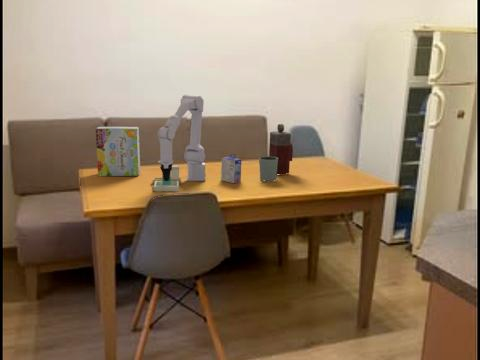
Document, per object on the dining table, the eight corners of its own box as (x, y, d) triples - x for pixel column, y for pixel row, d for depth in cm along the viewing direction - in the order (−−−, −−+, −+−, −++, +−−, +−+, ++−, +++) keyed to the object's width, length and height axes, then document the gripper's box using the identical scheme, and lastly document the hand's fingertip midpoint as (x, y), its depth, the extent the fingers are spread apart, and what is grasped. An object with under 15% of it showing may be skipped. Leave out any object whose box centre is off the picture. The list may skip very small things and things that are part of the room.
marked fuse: (170, 186, 245) (170, 170, 244) (170, 188, 243) (170, 171, 241) (162, 186, 245) (162, 170, 243) (162, 188, 242) (162, 172, 240)
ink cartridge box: (241, 182, 261) (242, 154, 258) (234, 183, 257) (234, 156, 254) (227, 178, 267) (228, 152, 264) (220, 180, 263) (221, 153, 260)
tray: (178, 185, 250) (178, 181, 249) (178, 191, 240) (178, 186, 239) (155, 185, 248) (155, 181, 248) (154, 191, 238) (153, 186, 238)
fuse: (179, 180, 256) (179, 165, 254) (179, 182, 253) (179, 166, 251) (171, 180, 255) (171, 165, 253) (171, 182, 252) (171, 166, 250)
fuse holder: (181, 181, 258) (181, 176, 257) (181, 185, 251) (181, 180, 250) (153, 181, 256) (153, 176, 256) (152, 185, 249) (152, 180, 249)
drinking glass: (275, 182, 262) (276, 160, 259) (256, 181, 264) (257, 159, 261) (278, 178, 271) (279, 156, 268) (259, 177, 273) (260, 155, 270)
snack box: (140, 173, 275) (139, 126, 268) (138, 176, 266) (137, 128, 260) (100, 172, 273) (98, 125, 267) (97, 176, 264) (95, 128, 258)
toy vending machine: (292, 174, 282) (295, 124, 275) (274, 175, 278) (277, 125, 271) (285, 170, 290) (288, 122, 283) (268, 172, 286) (270, 123, 279)
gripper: (158, 149, 246) (158, 176, 249) (157, 155, 232) (157, 183, 235) (173, 149, 247) (173, 176, 250) (172, 155, 233) (172, 183, 236)
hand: (166, 179), depth 243 cm, fingers open, 4 cm apart
